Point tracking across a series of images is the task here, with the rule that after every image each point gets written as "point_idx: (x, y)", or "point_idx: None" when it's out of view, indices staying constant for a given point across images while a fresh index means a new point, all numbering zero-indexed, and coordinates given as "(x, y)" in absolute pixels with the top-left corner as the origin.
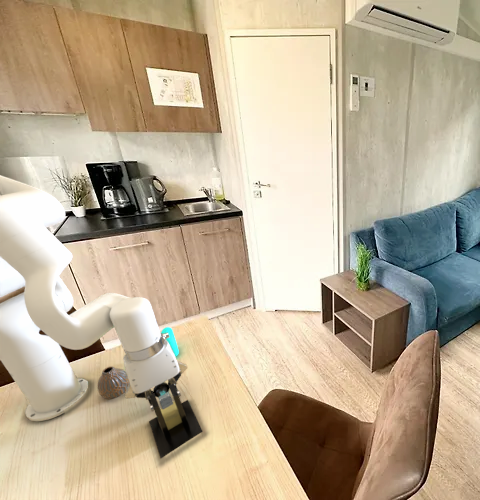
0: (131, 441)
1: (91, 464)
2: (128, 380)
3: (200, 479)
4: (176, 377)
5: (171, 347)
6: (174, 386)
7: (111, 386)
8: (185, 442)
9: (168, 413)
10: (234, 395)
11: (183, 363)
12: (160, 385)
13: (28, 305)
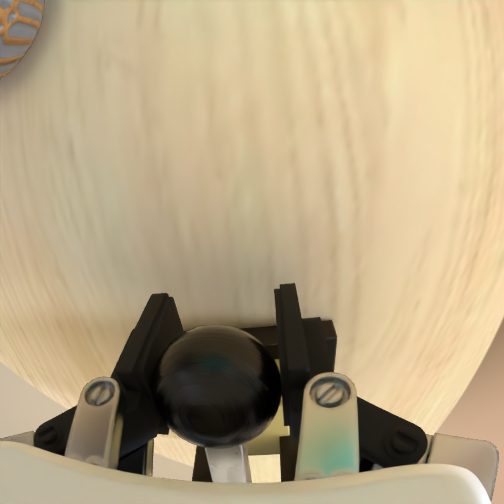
0: (101, 352)
1: (23, 344)
2: (5, 18)
3: (276, 478)
4: (364, 466)
5: None
6: None
7: None
8: (270, 454)
9: None
10: (460, 364)
11: (491, 488)
12: (218, 446)
13: None
